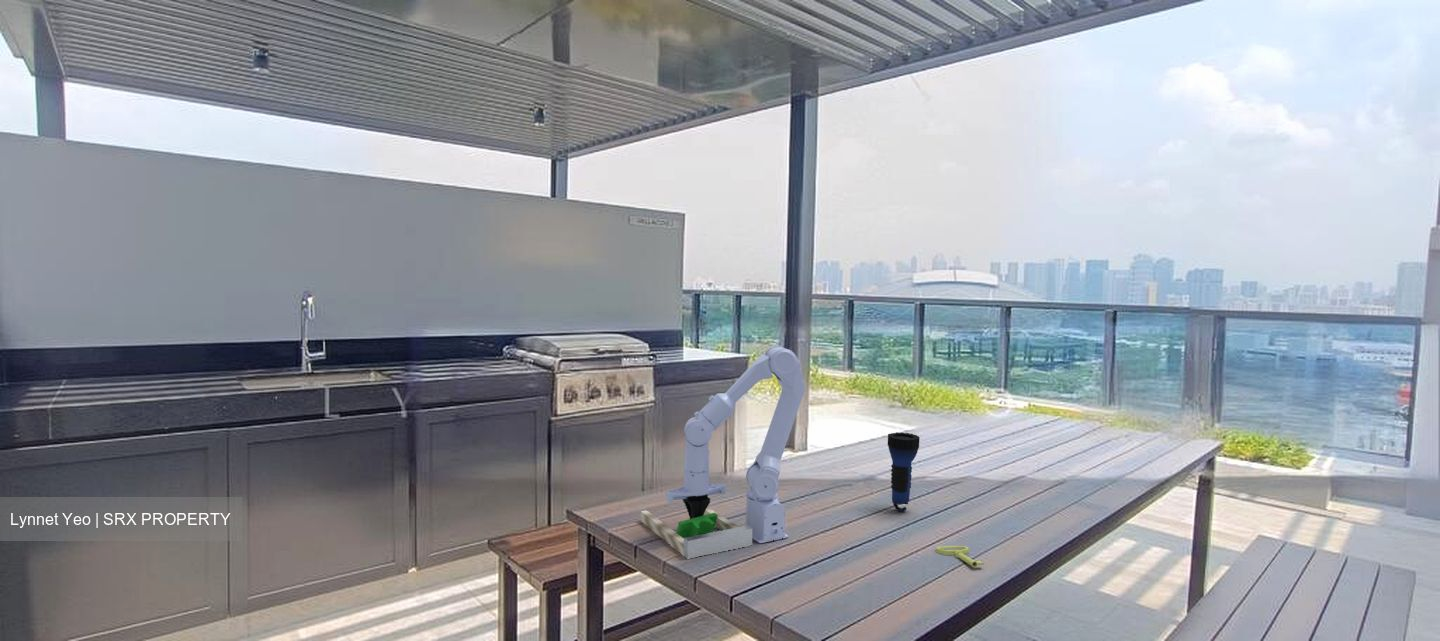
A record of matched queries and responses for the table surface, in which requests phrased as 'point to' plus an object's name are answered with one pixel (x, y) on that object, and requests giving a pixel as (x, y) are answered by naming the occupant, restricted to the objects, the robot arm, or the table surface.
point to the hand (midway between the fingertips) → (695, 527)
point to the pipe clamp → (697, 525)
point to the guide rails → (672, 536)
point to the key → (958, 554)
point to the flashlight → (902, 465)
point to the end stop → (717, 541)
